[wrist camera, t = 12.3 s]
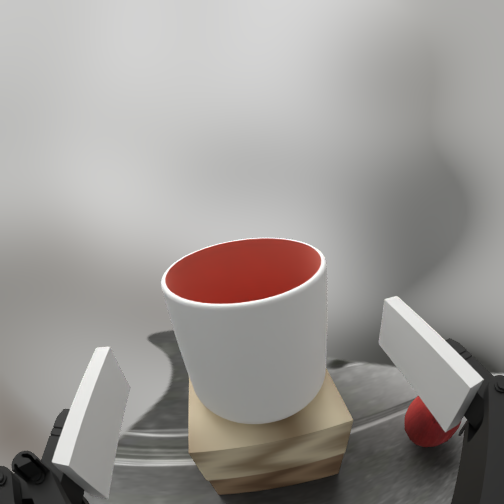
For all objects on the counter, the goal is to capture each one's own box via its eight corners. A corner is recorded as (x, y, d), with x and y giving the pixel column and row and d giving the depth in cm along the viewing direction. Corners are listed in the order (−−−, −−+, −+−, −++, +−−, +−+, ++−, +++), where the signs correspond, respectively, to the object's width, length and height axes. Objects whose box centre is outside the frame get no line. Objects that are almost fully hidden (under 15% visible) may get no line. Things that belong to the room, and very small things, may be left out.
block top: (206, 480, 17) (188, 452, 15) (202, 388, 27) (190, 352, 25) (345, 452, 18) (353, 419, 16) (307, 368, 28) (306, 331, 26)
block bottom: (219, 495, 19) (206, 476, 17) (214, 413, 29) (205, 385, 27) (337, 474, 20) (344, 451, 18) (309, 397, 30) (309, 367, 28)
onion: (456, 432, 19) (486, 382, 16) (425, 470, 17) (457, 425, 14) (419, 408, 24) (438, 356, 21) (385, 440, 22) (404, 391, 19)
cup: (345, 362, 21) (350, 245, 18) (276, 455, 14) (259, 330, 11) (249, 331, 28) (234, 232, 24) (171, 392, 20) (130, 280, 17)
